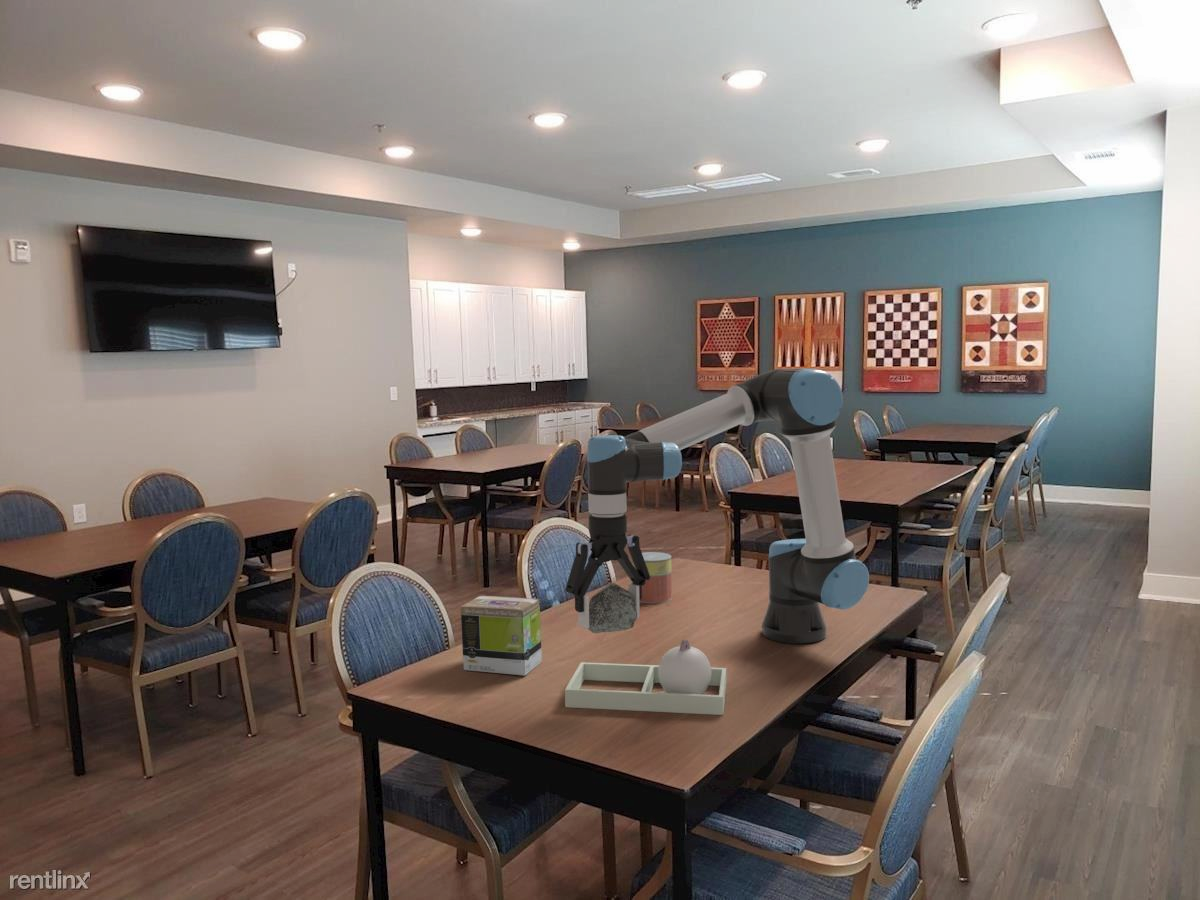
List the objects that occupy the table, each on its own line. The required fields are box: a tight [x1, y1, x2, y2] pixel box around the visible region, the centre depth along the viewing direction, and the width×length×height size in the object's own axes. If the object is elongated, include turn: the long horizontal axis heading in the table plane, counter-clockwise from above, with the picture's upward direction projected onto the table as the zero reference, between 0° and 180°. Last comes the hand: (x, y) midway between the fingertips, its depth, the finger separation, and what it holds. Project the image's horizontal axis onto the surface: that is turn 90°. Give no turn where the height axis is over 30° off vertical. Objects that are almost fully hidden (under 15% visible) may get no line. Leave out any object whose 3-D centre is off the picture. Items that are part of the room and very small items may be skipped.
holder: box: [564, 661, 727, 716], centre depth 175 cm, size 30×16×4 cm, turn 80°
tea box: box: [460, 595, 543, 677], centre depth 193 cm, size 15×10×15 cm, turn 71°
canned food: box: [630, 551, 673, 604], centre depth 246 cm, size 11×11×12 cm
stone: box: [587, 582, 638, 634], centre depth 175 cm, size 10×10×10 cm
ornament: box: [658, 638, 712, 695], centre depth 173 cm, size 10×10×12 cm
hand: (609, 621), depth 175 cm, fingers closed on stone, 12 cm apart
